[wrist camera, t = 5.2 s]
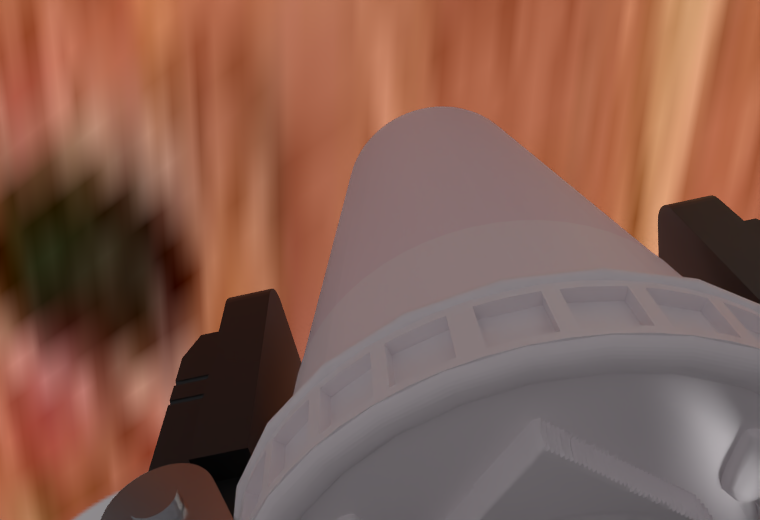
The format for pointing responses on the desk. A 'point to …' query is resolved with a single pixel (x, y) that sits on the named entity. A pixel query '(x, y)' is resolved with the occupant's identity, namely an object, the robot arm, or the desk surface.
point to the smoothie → (506, 355)
